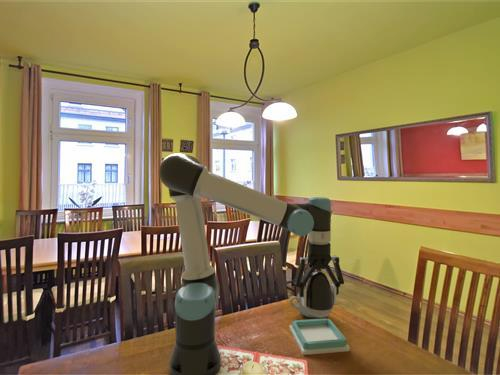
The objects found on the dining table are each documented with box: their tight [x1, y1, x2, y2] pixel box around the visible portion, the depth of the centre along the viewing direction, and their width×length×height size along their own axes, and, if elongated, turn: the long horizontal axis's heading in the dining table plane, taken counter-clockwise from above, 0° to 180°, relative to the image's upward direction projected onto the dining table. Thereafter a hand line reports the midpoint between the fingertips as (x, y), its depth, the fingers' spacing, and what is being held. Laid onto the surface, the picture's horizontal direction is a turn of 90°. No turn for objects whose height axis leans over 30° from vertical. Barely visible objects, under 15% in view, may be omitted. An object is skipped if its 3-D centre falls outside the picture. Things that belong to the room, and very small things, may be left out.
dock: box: [288, 317, 351, 356], centre depth 102 cm, size 16×16×3 cm
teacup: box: [289, 292, 316, 319], centre depth 120 cm, size 14×11×8 cm
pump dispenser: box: [303, 270, 335, 319], centre depth 101 cm, size 10×10×15 cm
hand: (318, 304), depth 101 cm, fingers closed on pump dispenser, 10 cm apart
